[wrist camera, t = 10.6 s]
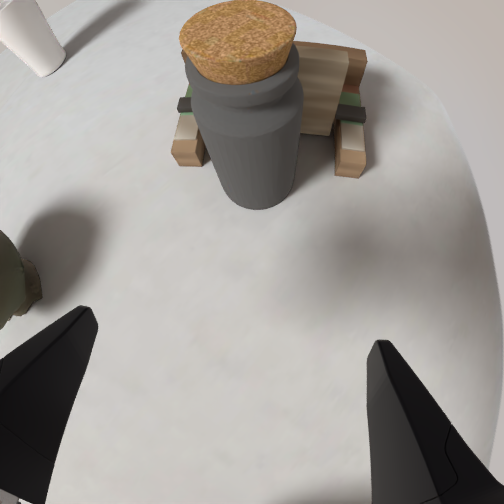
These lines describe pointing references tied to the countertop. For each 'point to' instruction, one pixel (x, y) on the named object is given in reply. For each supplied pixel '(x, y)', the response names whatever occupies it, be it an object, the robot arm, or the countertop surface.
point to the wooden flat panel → (317, 90)
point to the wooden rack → (345, 132)
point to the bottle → (246, 96)
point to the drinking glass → (30, 36)
